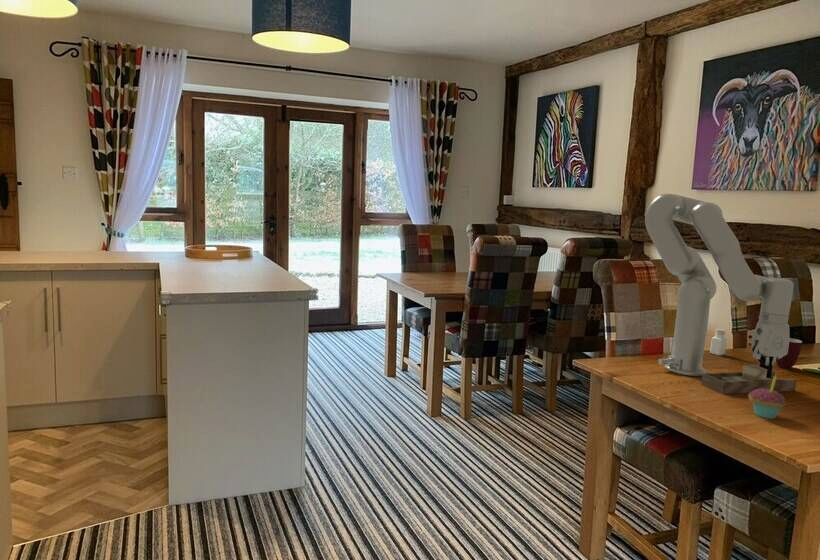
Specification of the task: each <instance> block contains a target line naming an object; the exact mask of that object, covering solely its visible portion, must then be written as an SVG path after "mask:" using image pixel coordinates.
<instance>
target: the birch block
mask: <svg viewBox="0 0 820 560" xmlns="http://www.w3.org/2000/svg"><path fill="white" fill-rule="evenodd" d="M759 366H760V365H757V364H750V365H749V364H748V365H747V364H745V365H743V367H742V371H741V372H742V378H743V379H746V380H748V381H750V380H766V375H767V369H765V368H762V367H759Z"/></svg>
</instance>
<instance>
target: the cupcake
mask: <svg viewBox="0 0 820 560" xmlns="http://www.w3.org/2000/svg"><path fill="white" fill-rule="evenodd" d="M777 375H778V374H775V375H774V378H773V381H772V385H771V388H770V390H769V389H765V388H758V389H756V390H755V389H754V390H753V391H751V392H750V393H748V396H747V397H748V400H750V402H752V406H753V411H754V414H755V415H756V416H758V417H761V418H764V419H776V417H777V415H778V414H779V412H780V410H781V409H782V408H783V407H786V398H785V397H784V396H783V394H781V393H779V392H780V391H773V388H774V385H775V381H776V380H777V379H778V378H777Z"/></svg>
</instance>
